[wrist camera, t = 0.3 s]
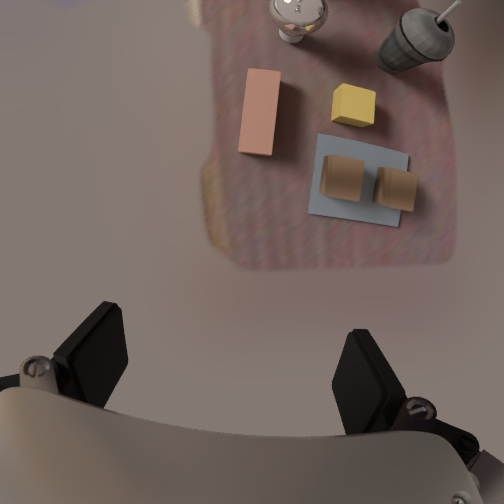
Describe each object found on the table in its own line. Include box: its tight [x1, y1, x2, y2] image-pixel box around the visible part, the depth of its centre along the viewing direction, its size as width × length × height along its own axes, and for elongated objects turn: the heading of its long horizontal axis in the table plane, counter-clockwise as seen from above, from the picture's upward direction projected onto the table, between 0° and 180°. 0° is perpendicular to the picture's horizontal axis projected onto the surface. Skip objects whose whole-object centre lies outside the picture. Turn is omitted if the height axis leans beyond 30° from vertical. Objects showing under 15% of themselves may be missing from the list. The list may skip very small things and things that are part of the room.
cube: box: [331, 83, 376, 127], centre depth 32 cm, size 4×4×4 cm
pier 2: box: [372, 167, 418, 212], centre depth 34 cm, size 5×4×5 cm
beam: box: [238, 68, 281, 156], centre depth 33 cm, size 11×4×4 cm, turn 174°
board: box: [308, 133, 409, 227], centre depth 37 cm, size 11×14×1 cm
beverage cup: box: [375, 0, 461, 74], centre depth 22 cm, size 7×7×20 cm
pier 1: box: [319, 155, 365, 202], centre depth 34 cm, size 5×4×5 cm
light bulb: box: [268, 0, 328, 43], centre depth 25 cm, size 7×7×12 cm
